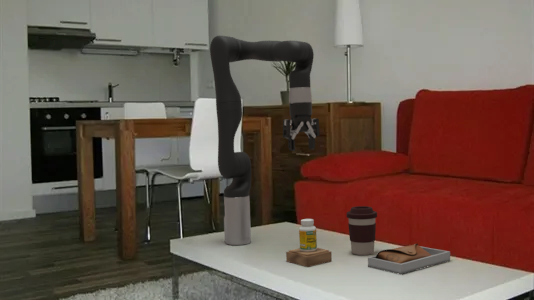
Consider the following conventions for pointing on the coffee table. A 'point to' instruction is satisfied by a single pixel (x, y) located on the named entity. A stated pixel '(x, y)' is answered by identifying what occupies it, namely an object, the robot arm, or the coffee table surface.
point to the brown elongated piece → (403, 254)
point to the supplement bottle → (307, 236)
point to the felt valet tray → (410, 262)
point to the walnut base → (308, 257)
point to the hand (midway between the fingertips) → (302, 150)
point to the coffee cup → (362, 229)
